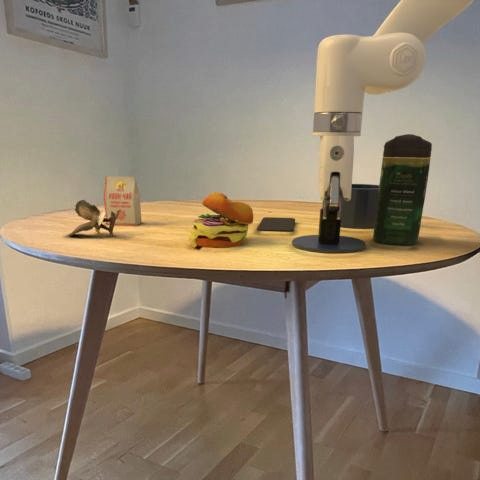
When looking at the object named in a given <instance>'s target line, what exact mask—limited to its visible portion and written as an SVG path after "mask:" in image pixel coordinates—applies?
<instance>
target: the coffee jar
mask: <svg viewBox="0 0 480 480" xmlns="http://www.w3.org/2000/svg"><path fill="white" fill-rule="evenodd" d="M432 146H433V144H432V142H430V141H428V140H426V139H424V138H422V137H421V136H419V135H417V134H412V133H406V134H401V135H395V137H394V138H391V139H390V140H387V141H386V142H385V143H384V145H383V153H382V158H381V159H382V160H381V168H380V178H379V184H378V185H379V193H378V202H377V211H376V219H375V226H374V229H373V236H372V240H373V243H375V244H379V245H380V244H381V245H385V246H395V247H396V246H398V247H399V246H400V247H412V246H413V247H414V246H416V245H417V244H418V241H419V238H420V237H419V236H420V231H421V225H422V218H423V212H424V206H425V200H426V193H427V188H428V181H429V175H430V168H431V167H430V166H431V157H432V151H433V147H432Z"/></svg>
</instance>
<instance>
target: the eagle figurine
mask: <svg viewBox="0 0 480 480" xmlns="http://www.w3.org/2000/svg"><path fill="white" fill-rule="evenodd" d="M74 207H75V208H74V211H75V214H77V216H78V217H80V218H82V219H84V220H87V222H85V223H84V222H83V223H81V224H79V225H77V226H76V227H75V228H74V229H73V230H72V232H70V233H69V234H67V236H68V237H72V236H74V235H76V234H79V233H80V232H87V231H90V230H93V229H94V230H95V232H96V233H97V234H100V233H101V229H103V230H105V231H107V232H108V233H109V235H110V236H111V237H114V227H115V225H114V224H115V221H116V219H117V217H118V215H119V211H120V210H118V211H117V213H116V214H115V213H114V212H112V211H111V217H110V218H109V219H106V211H105V209H104V210H103V211H102V212H101V210H100V209H99V208H98V206H96V205H95V204H91V203H90V202H88V201H87V200H86V199H81V200H78V201H76V204H75V205H74ZM106 222H110V225H109V226H107V225H106V224H103V223H106Z"/></svg>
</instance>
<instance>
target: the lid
mask: <svg viewBox="0 0 480 480" xmlns="http://www.w3.org/2000/svg"><path fill="white" fill-rule="evenodd" d="M341 214H342V209H341V212H340V220H341ZM321 219H323V208H322V207H321V208H320V209H319V222H318V234H308V235H307V234H306V235H301V236H296V237H294V238H293V239H292V240H291V245H292V247H294V248H296V249H298V250H303V251H307V252H313V253H319V254H320V253H322V254H350V253H357V252H361V251H363V250H365V249H366V248H367V243H366V241H364V240H363V239H360V238H356V237H352V236H346V235H340V238H339V244H321V243H320V230H321Z"/></svg>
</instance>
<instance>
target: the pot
mask: <svg viewBox="0 0 480 480" xmlns="http://www.w3.org/2000/svg"><path fill="white" fill-rule="evenodd" d="M378 193H379V184H371V183H352V189H351V199H350V200H349V201H346V200H345V199H344V198H343V196H342V198H341V209H342V214H341V226H340V229H341V228H342V229H352V230H374V226H375V219H376V211H377V202H378Z"/></svg>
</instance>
